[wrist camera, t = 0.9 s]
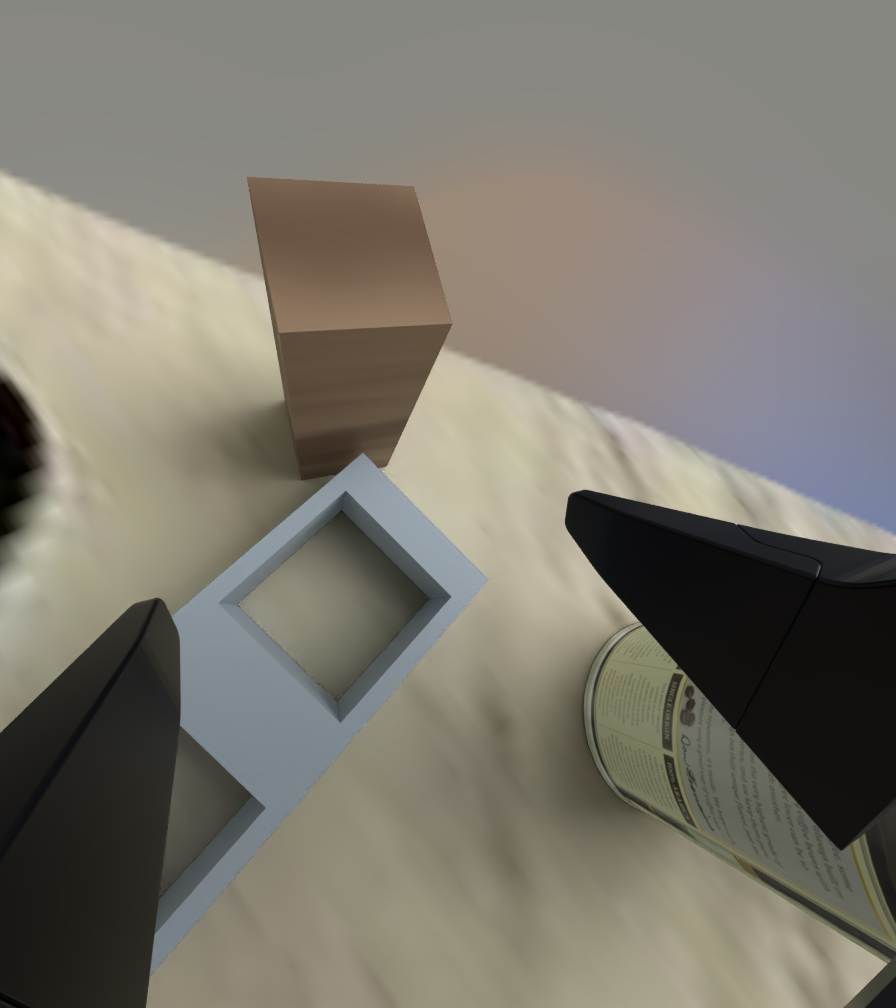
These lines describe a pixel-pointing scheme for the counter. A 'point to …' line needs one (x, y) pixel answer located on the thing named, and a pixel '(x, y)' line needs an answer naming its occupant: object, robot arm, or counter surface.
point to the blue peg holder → (294, 676)
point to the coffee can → (729, 793)
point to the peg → (348, 313)
